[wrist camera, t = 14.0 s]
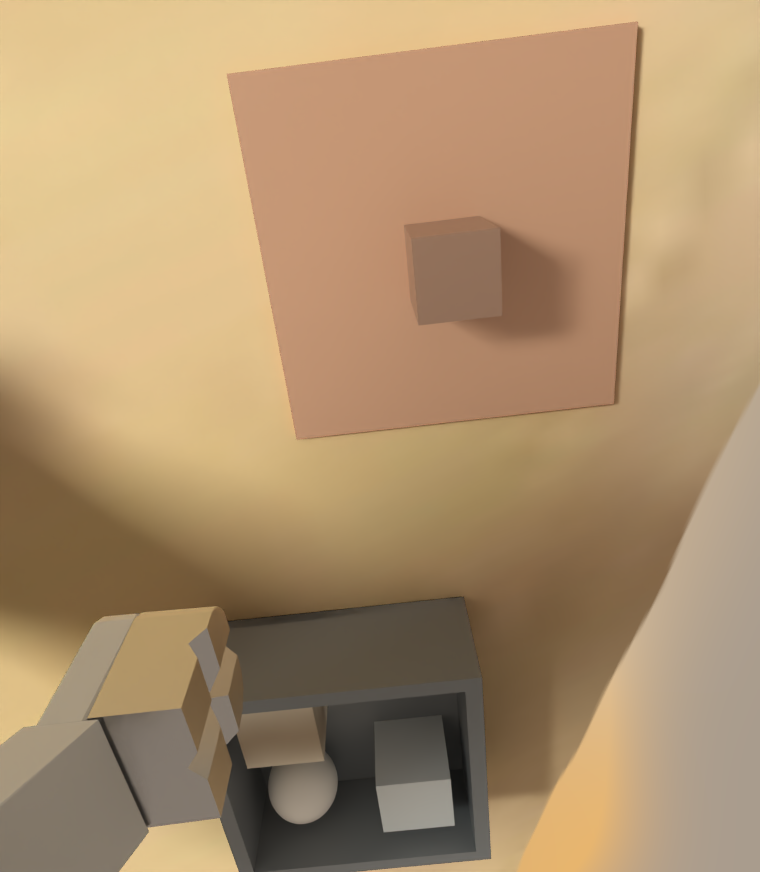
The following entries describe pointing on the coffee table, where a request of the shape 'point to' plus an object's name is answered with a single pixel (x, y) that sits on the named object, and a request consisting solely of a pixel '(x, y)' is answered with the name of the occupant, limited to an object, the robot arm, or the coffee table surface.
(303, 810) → the off-white ball
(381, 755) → the grey-blue cube
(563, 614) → the coffee table surface
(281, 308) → the lid
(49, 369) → the coffee table surface
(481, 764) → the storage box
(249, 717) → the birch cube
